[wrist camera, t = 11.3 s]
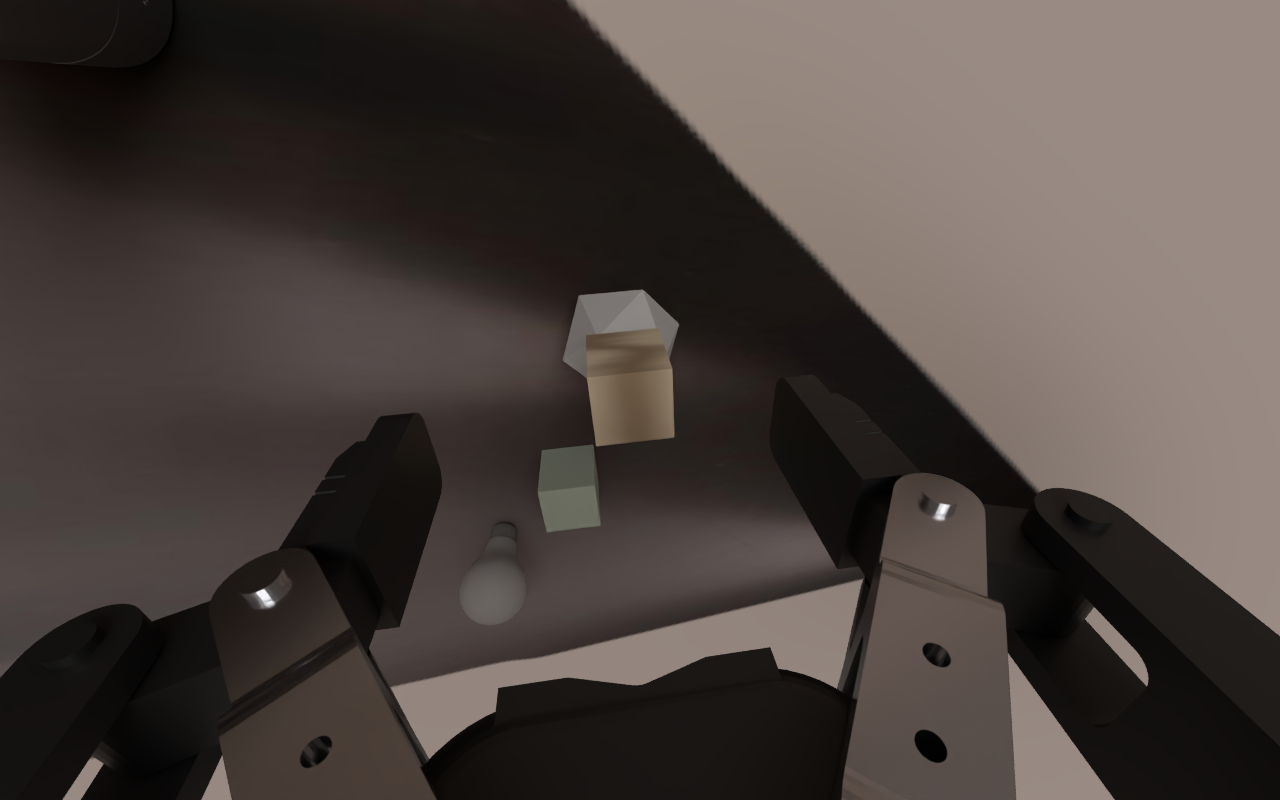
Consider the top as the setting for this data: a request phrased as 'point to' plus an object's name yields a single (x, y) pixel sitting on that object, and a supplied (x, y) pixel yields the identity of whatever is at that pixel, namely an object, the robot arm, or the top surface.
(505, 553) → the lightbulb
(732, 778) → the robot arm
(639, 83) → the top surface
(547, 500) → the sage block
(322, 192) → the top surface
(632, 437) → the maple block
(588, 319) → the die
